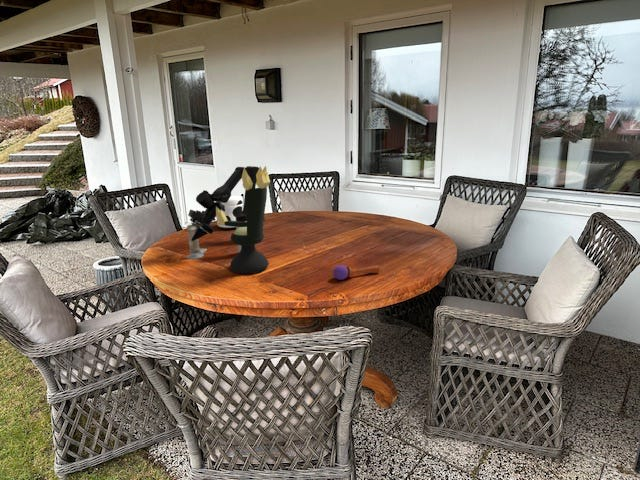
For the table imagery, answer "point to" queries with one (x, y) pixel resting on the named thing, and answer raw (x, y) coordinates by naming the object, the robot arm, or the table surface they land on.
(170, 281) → the table surface
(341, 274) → the kendama
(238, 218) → the travel mug
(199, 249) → the bent rod
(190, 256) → the coaster
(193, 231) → the ringed post
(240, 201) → the milk container
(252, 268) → the candelabra
